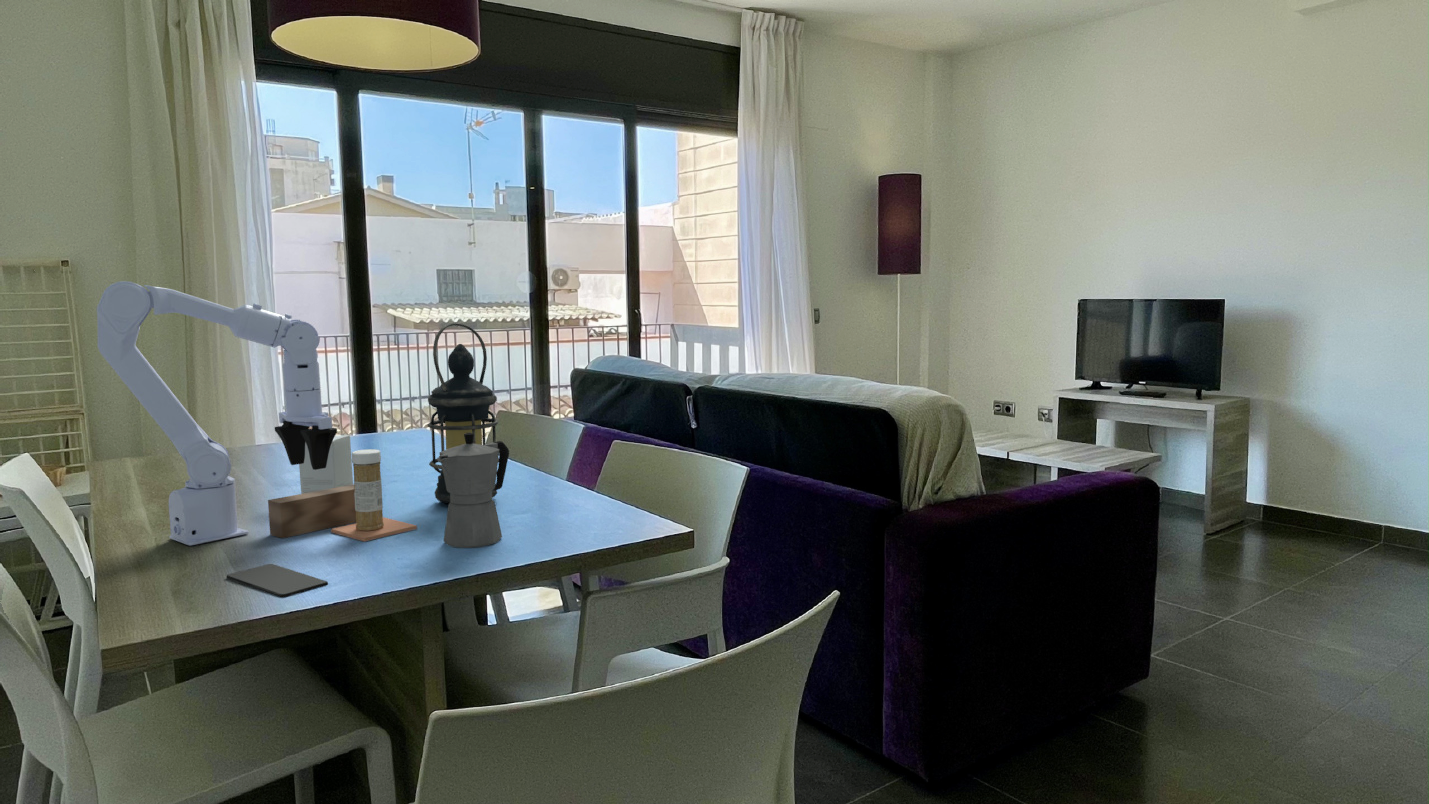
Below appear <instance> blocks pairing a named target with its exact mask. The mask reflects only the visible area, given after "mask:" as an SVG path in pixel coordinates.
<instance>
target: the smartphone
mask: <svg viewBox="0 0 1429 804" xmlns="http://www.w3.org/2000/svg"><path fill="white" fill-rule="evenodd" d="M226 580H228V581H230V582H234V583H236V584H240V585H242V586H246V587H249V588H252V589H254V590H258V591H261V592H263V593H267V594H270V595H272V596H276V597H278V598H287V597H290V596H291V597H292V596H295V595H298V594H301V593H305V592H306V591H312V590H315V589H316V590H317V589H319V588H321V587H326V586H328V585H329V583H328V581H327V580H324V579H320V578H318V577H314V576H312V575H308V574H305V573H302V572H299V571H296V570H292V569H290V568H287V567H284V566H280V565H277V564H274V563H268V564H264V565H259V566H255V567H251V568H248V569H244V570H239V571H236V572H235V571H234V572H232V573H228V574H226Z"/></svg>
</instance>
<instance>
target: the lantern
mask: <svg viewBox="0 0 1429 804" xmlns="http://www.w3.org/2000/svg"><path fill="white" fill-rule="evenodd" d="M453 326H456V327H463V328H465V329H467V330H469V331H471V332H472V334H474V335H475V336H476V338H477V339H478V341H479V343H480V346H481V349H482V355H483V358H482V359H483V360H482V369H481V373H480V377H479V381H478V380H477V379H474V378H472V377H470V375H471V374H472V372H473V371H474V367H475V360H474V357H473V355H472V354H471V352H470V351H469V350H468V349H467V347H465V345H463V343H459V344H457V345H456V346H455V347H454V348H453V350H452V351H451V352H450V354H449V355H448V358H447V365H448V369H449V372H450V373H451V374H452V375H453V376H452V377H451V378H450V379H448V380H446V381H445V380H444V378H443V375H442V373H441V371H440V366H439V363H438V356H437V354H438V351H437V349H438V342H439V339H440V336H441V335H442V333H443V332H444V331H445V330H446V329H447V328H449V327H453ZM487 356H488V355H487V348H486V345H485V343H484V340H483V339H482V337H481V335H480V334H479V333H478V332H477V331H476V330H475V329H473V328H472V327H470V326H468V325H466V324H462V323H458V322H456V323H455V322H453V323H449V324H446V325H444V326H442V327H441V328H440V329H439V330H438V332H437V334H436V336H435V339H434V341H433V349H432V358H433V363H434V367H435V371H436V373H437V377H438V379H439V382H440V385H439V386H437V387H435V388H434V389H433V390H431V394H429V395H428V396H427V402H428V404H429V405H430V406H431V407H432V408H436V411H435V412H434V413H433V414H431V416H430V417H431V418H430V419H431V420H430V422H429V423H428V424H427V427H428V428H429V429H431V430H430V431H431V450H432V453H431V454H432V460H431V461H430V462H429V466H430V467H432V468H433V469H434V471H435V472H438V474H439V475H438V476H437V483H436V489H435V491H434V496H435V497H434V498H435V499H437V501H438V502H441V503H444V504H450V493H449V492H448V491H447V489H446V484H445V479H444V474H443V469H442V464H437V463H439V462H438V460H437V458H436V440H435V430H437V431H440V447H441V451H440V452H442V451H444V450H447V449H449V448H453V447H456V446H460V445H463V444H466V442H465V437H464V434H466V433H468V432H470V433H473V434H474V439H473V443H474V444H479V445H485V444H487V443H486V429H488V428H492V443H494V442H497V439H496V426H497V425H498V424H499V420H497V419H496V418H495V414H494V413H493V412H492V411H491V410H490V406H492V405H494V404H495V403H496V402H497V401H498V397H497V395H495V393H494V391H493V390H492V389H491V388H489V387H488V386H487V385H484V384H483V383H484V378H485V374H486V370H487V362H488V361H487V360H488V357H487ZM489 415H490V416H491V417H490V418H489ZM436 416H437V419H436V420H435V417H436ZM444 431H445V433H444ZM498 463H499V457H498ZM497 494H498V490H495V491H493V490H492V499H493V498H495V497H496V496H497Z"/></svg>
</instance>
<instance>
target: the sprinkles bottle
mask: <svg viewBox="0 0 1429 804" xmlns="http://www.w3.org/2000/svg"><path fill="white" fill-rule="evenodd" d="M351 459H352V467H353V484H354V490H355V493H354V496H355V510H356V522H355V524H356V529H357V530H362V531H371V530H377V529H380V528H382V527H383V526H384V523H383V517H384V516H383V514H384V513H383V508H384V507H383V487H382V486H383V485H382V483H383V482H382V475H381V473H382V472H381V461H382V456H381V451H380V450H379V449H373V448H372V449H370V448H369V449H359V450H355V451H353V452H352V451H351Z"/></svg>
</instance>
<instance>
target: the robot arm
mask: <svg viewBox="0 0 1429 804" xmlns="http://www.w3.org/2000/svg"><path fill="white" fill-rule="evenodd" d="M152 309H153V315H155V316H157V315H164V314H165V315H166V314H172V313H174V314H175V313H177V314H180V315H184V316H188V317H192V318H196V319H199V320H203V321H207V322H212V323H214V324H219V325H222V326H227V327H228V328H229V329H230V331H231V332H232V335H234V337H235V338H238V339H239V338H240V339H243V340H246V341H250V342H254V343H256V344H259V345H263V346H267V347H270V348H277V347H279V346H281V348H282V349H283V350H282V351H283V352H282V354H283V364H282V372H283V385H284V386H283V388H284V400H285V401H284V402H285V411H282V412H281V411H280V412H278V421H279V424H282V425H279V426H274V432H275V433H276V434H277V435H278V437H279V439H280V440H281V442H282V444H283V446H284V449H285V452H286V455H287V457H288V458H287V459H288V461H289V464H290V465H291V466H295V465H296V466H297V465H299V464H303V463H304V459H305V442H306V444H307V447H308V451H309V456H310V462H311V466H312V468H313V470H317V469H323V468H326V465H327V460H328V455H329V450H330V446H331V443H332V441H333V439H334V437H335V436H337V434H338V428H336V427H333V421H332V420H333V418H332V416H329V412H328V411H327V412H326V411H323V407H322V405H323V404H322V391H321V390H322V389H321V377H320V376H321V375H320V364H319V362H318V358H319V355H318V351H317V349H318V347H319V345H320V340H321V339H320V336H319V334H318V331H317V330H316V328H315V327H314V326H313V325H312V324H310V323H309V322H306V321H304V320H303V321H302V320H301V319H292V317H293V316H292V314H288V313H285V314H284V315H282V314H281V313H280V314H279V313H276V312H273V311H269V310H266V309H263V305H261V304H258V303H253V305H250V304H246V303H245V304H243V305H241V306H239V307H236V308H232V307H229V306H225V305H222V304H219V303H216V302H213V301H209V300H206V299H203V298H201V297H197V296H194V295H192V294H189V293H188V294H187V293H184V292H181V291H178V290H177V289H176V290H175V289H172V288H166V287H160V286H153V285H146V284H144V285H143V286H142V285H140V284H138V283H136V282H133V281H129V280H128V281H127V280H124V281H123V280H122V281H121V280H120V281H116V282H114V283H111V284H110V285H108V286H107V287H106V288H105V289H104V290H103V293H102V295H101V298H100V299H99V302H98V304H97V307H96V316H97V317H96V318H97V323H96V324H97V326H96V327H97V349H98V351H99V353H100V355H101V356H102V357H103V358H104V360H105V361H106V362H107V363H108V365H109V366H110V367H111V368H112V370H113V371H114V372H115V373H116V374H117V376H118V377H119V378H120V379H121V380H122V382H123V383H124V384H125V385H126V387H127V388H128V389H129V390H130V392H131V393H132V394H133V395H134V396H135V398H136V399H137V400H138V401H139V403H140V404H141V405H142V407H143V408H144V409H145V410H146V411H147V412H148V414H149V415H150V416H151V418H152V419H153V421H154V422H156V424H157V425H158V426H159V427H160V429H161V430H162V431H163V432H164V434H165V435H166V436H167V438H168V439H169V441H171V443H172V444H173V445H174V447H175V449H176V450H177V452H178V453H179V455H180V456H181V458H182V459H183V460H184V462H185V465H186V472H187V475H188V477H189V479H188V480H186V481H185V484H184V487H182V488H179V489H175V490H172V491H171V492H170V493H169V497H168V517H169V525H170V526H169V527H170V529H169V530H170V535H169V536H168V537H169V539H171V540H173V541H176V542H178V543H182V544H184V545H187V546H195V545H196V546H197V545H199V544H205V543H210V542H215V541H219V540H223V539H228V538H229V539H230V538H234V537H238V536H244V535H247V534H249V530H247V529H243V528H240V527H238V525H239V524H238V512H237V511H238V510H237V497H236V483H235V477H232V476H230V473H231V471H232V462H231V460H230V454H229V452H228V449H227V448H226V447H225V446H224V445H223V444H221V443H220V442H217V441H215V440H214V439H212V438H211V437H210V436H209V435H208V434H207V433H206V432H205V430H204V429H203V428H202V427H201V426H200V425H199V424H198V423H197V422H196V420H195V419H194V417H193V416H192V415H191V413H189V411H188V410H187V409H186V408H185V406H184V405H183V404H182V402H181V401H180V400H179V398H178V397H177V396H176V395H175V394H174V393H173V391H172V390H171V389H170V387H169V386H168V385H167V383H166V382H165V381H164V380H163V379H162V377H161V376H160V374H158V372H157V371H156V369H155V368H154V367H153V366H152V365H151V364H150V363H149V361H148V359H146V357H145V356H144V355H143V353H142V352H141V351H140V349H139V348H138V347H137V340H138V337H139V333H140V330H141V328H140V327H141V325H143V322H144V321H145V320H146V318H147V317H148V316H149V314H150V312H151V311H152ZM310 427H311V428H310Z"/></svg>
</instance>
